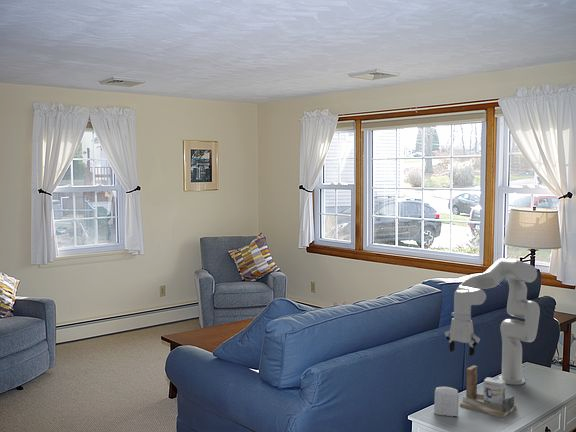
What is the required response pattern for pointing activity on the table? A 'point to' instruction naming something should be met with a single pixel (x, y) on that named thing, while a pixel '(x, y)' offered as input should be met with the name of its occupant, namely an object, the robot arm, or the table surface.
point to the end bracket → (471, 382)
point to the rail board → (489, 405)
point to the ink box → (494, 391)
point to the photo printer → (446, 401)
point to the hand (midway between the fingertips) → (461, 352)
